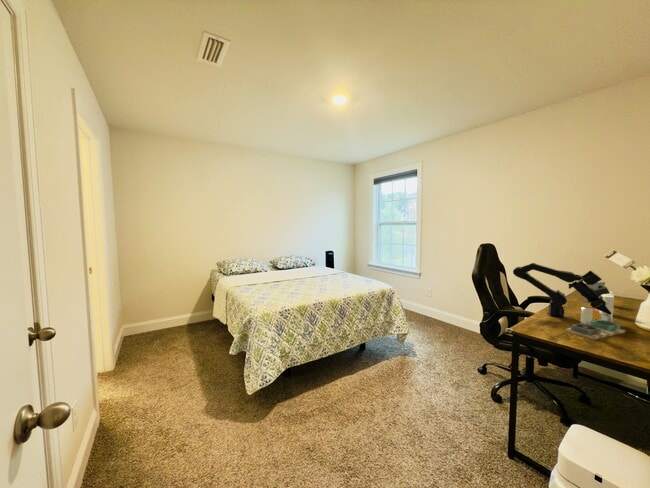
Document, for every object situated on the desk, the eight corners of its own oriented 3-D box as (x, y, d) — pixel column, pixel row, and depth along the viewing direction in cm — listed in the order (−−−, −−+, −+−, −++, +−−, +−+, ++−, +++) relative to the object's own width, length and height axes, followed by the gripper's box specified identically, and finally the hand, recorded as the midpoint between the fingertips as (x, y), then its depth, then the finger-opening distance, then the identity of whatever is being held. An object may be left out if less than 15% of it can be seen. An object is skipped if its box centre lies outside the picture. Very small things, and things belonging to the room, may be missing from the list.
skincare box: (582, 301, 203) (584, 279, 202) (589, 300, 205) (591, 279, 204) (597, 304, 195) (598, 282, 194) (604, 303, 197) (605, 281, 196)
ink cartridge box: (593, 311, 182) (595, 288, 181) (602, 311, 181) (604, 289, 180) (604, 315, 174) (605, 292, 172) (613, 315, 173) (615, 292, 171)
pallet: (592, 339, 139) (593, 332, 139) (565, 330, 150) (565, 324, 150) (625, 332, 147) (626, 325, 147) (597, 324, 159) (597, 318, 158)
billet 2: (603, 324, 158) (605, 303, 157) (599, 322, 162) (600, 300, 161) (613, 325, 157) (615, 303, 156) (609, 322, 161) (610, 301, 160)
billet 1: (582, 332, 145) (583, 308, 144) (578, 329, 149) (579, 306, 148) (593, 333, 143) (594, 309, 142) (588, 330, 147) (589, 307, 146)
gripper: (600, 284, 153) (628, 308, 147) (596, 278, 168) (621, 300, 162) (580, 296, 159) (606, 319, 153) (578, 290, 173) (602, 310, 167)
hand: (609, 311), depth 158 cm, fingers open, 9 cm apart
